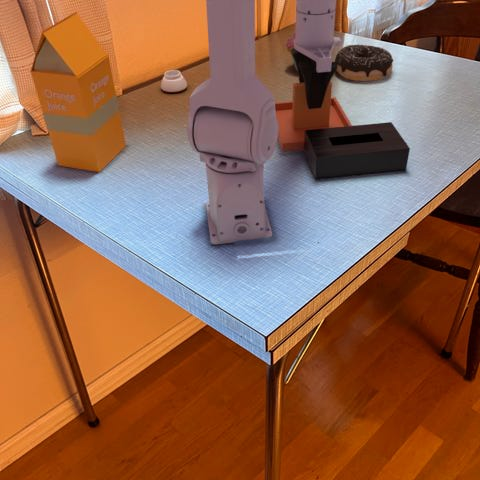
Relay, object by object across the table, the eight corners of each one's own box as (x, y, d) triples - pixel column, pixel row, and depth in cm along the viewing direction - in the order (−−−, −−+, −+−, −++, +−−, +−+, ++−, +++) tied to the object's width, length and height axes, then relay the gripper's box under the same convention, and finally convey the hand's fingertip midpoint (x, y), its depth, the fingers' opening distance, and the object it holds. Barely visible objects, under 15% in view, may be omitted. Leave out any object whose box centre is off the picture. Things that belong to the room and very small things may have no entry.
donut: (345, 86, 106) (347, 65, 103) (325, 64, 114) (327, 43, 111) (400, 79, 107) (404, 58, 104) (377, 58, 116) (380, 37, 113)
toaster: (405, 173, 83) (410, 148, 80) (315, 182, 82) (316, 157, 79) (387, 146, 89) (391, 121, 86) (303, 154, 88) (304, 130, 85)
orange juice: (127, 145, 93) (101, 12, 79) (100, 172, 87) (66, 33, 73) (85, 140, 95) (53, 9, 81) (56, 165, 89) (16, 29, 75)
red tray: (357, 146, 89) (358, 136, 88) (282, 154, 89) (282, 143, 87) (334, 107, 100) (335, 97, 99) (267, 113, 99) (267, 103, 98)
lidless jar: (157, 93, 108) (182, 94, 106) (155, 77, 105) (180, 78, 104) (166, 82, 111) (190, 84, 110) (164, 67, 109) (189, 68, 108)
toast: (329, 125, 93) (332, 83, 89) (293, 129, 93) (294, 86, 88) (327, 122, 94) (330, 79, 90) (291, 125, 94) (292, 83, 89)
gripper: (356, 22, 76) (347, 118, 86) (331, -8, 87) (325, 81, 96) (304, 26, 76) (301, 122, 86) (286, -4, 86) (284, 85, 96)
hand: (311, 101), depth 91 cm, fingers open, 4 cm apart
